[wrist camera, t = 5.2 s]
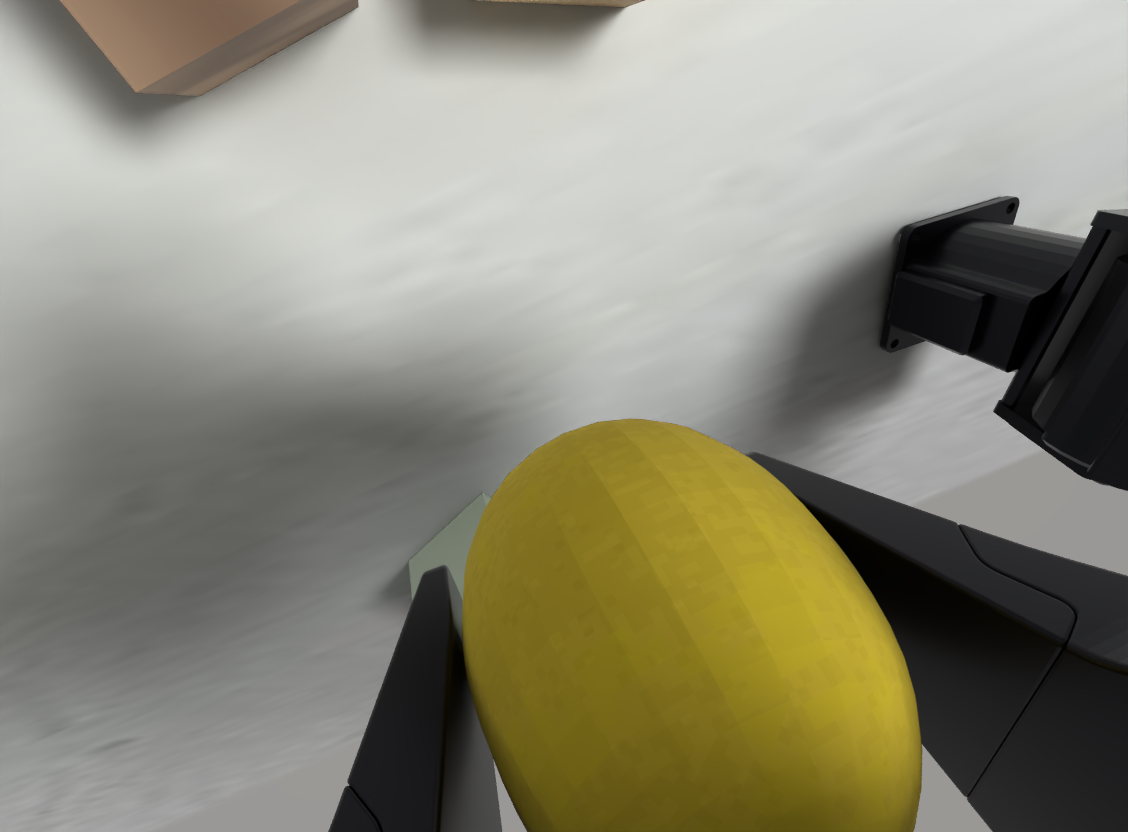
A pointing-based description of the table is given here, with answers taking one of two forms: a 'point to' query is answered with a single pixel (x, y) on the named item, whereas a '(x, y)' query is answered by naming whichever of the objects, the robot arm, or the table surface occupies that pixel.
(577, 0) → the oak block
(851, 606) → the lemon
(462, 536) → the sage block
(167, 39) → the walnut block
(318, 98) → the table surface
